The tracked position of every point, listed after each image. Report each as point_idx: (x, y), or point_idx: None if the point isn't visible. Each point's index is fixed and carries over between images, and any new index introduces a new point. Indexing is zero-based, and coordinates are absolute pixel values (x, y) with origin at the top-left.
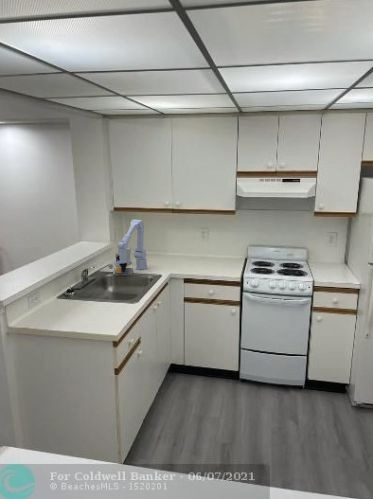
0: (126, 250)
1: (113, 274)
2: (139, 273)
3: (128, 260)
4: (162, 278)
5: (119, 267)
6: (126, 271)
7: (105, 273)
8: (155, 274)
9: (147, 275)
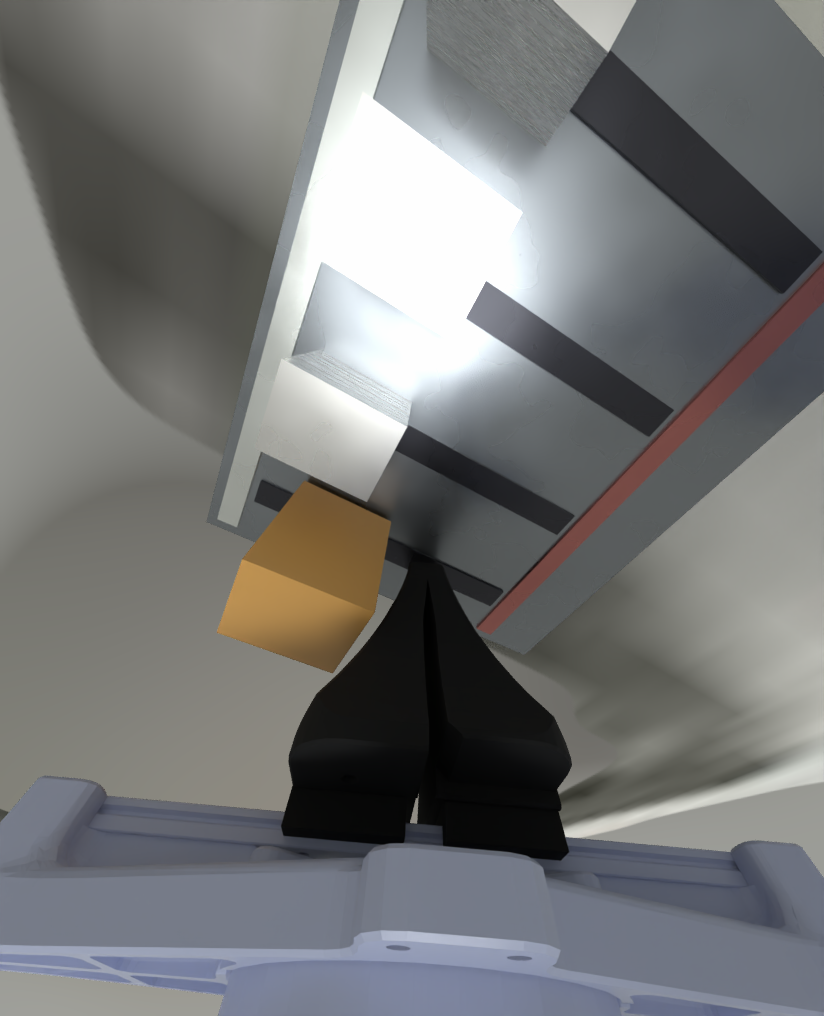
0: None
1: (223, 527)
2: (668, 621)
3: (786, 999)
4: (674, 811)
5: (324, 623)
6: (532, 508)
7: (52, 231)
8: (764, 732)
9: (661, 717)
